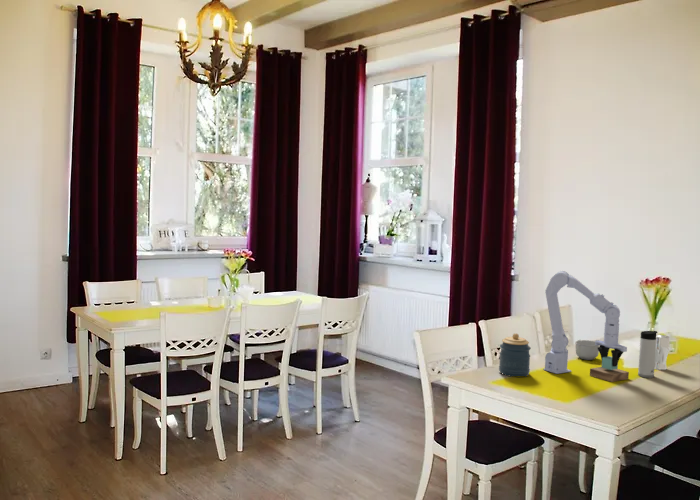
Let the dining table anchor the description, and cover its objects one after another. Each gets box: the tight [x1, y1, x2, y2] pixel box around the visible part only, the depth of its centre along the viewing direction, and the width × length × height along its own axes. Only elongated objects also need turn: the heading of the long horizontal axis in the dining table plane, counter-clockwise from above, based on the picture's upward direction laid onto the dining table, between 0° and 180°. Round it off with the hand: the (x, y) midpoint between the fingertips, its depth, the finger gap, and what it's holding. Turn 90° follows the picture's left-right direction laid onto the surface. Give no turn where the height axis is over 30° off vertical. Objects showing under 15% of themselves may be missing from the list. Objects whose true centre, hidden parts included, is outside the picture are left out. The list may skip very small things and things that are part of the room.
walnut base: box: [589, 366, 630, 383], centre depth 275 cm, size 11×11×3 cm
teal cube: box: [601, 355, 619, 370], centre depth 274 cm, size 4×4×4 cm
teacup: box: [575, 339, 600, 361], centre depth 310 cm, size 14×11×8 cm
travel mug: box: [637, 330, 658, 379], centre depth 277 cm, size 6×7×20 cm
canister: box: [498, 333, 531, 377], centre depth 276 cm, size 13×13×18 cm
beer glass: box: [654, 334, 670, 371], centre depth 292 cm, size 7×7×15 cm
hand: (609, 364), depth 274 cm, fingers closed on teal cube, 4 cm apart
